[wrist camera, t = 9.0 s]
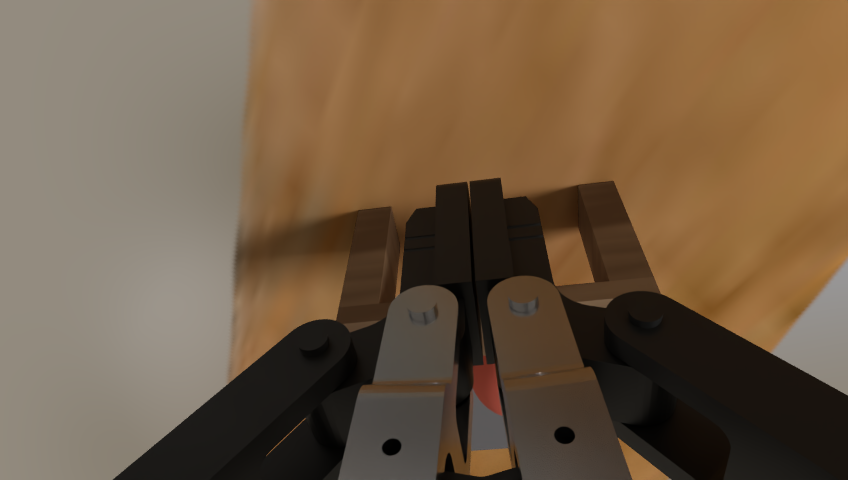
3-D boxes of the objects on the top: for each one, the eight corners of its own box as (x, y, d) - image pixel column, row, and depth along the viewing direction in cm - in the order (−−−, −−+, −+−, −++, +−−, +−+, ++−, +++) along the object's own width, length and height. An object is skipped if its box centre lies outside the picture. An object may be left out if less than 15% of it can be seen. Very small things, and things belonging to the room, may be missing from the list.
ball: (472, 418, 37) (480, 428, 43) (572, 404, 36) (567, 416, 42) (459, 322, 40) (468, 344, 45) (552, 308, 39) (550, 331, 44)
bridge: (358, 210, 37) (335, 324, 29) (613, 181, 35) (660, 294, 28) (368, 249, 39) (349, 367, 31) (612, 223, 37) (656, 341, 29)
